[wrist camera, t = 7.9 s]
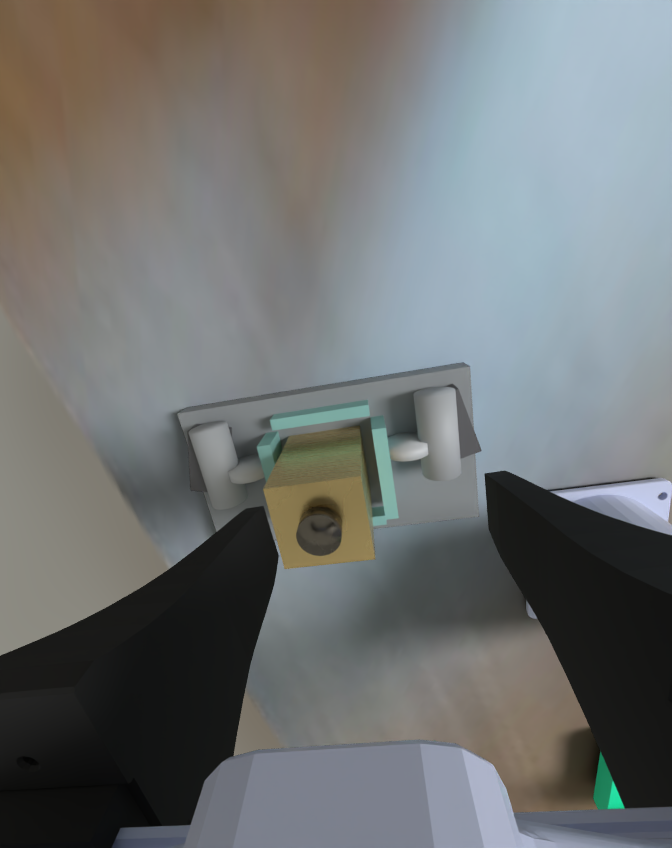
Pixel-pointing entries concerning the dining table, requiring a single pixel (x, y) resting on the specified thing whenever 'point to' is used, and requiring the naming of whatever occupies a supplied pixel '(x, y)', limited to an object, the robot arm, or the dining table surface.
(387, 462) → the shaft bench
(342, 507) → the coupling block
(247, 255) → the dining table surface
